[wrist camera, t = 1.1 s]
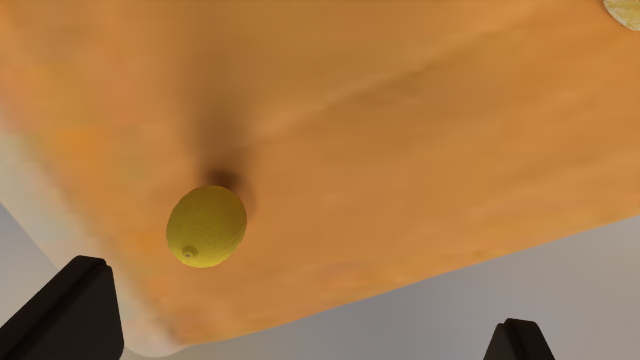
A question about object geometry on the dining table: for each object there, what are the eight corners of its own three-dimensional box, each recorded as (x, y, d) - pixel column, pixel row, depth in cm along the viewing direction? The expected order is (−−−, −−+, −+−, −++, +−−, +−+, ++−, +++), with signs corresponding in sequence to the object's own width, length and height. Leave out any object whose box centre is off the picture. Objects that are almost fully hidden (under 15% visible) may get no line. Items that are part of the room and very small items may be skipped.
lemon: (256, 172, 33) (226, 225, 26) (257, 230, 36) (229, 293, 28) (190, 166, 33) (142, 217, 26) (195, 223, 36) (153, 284, 29)
